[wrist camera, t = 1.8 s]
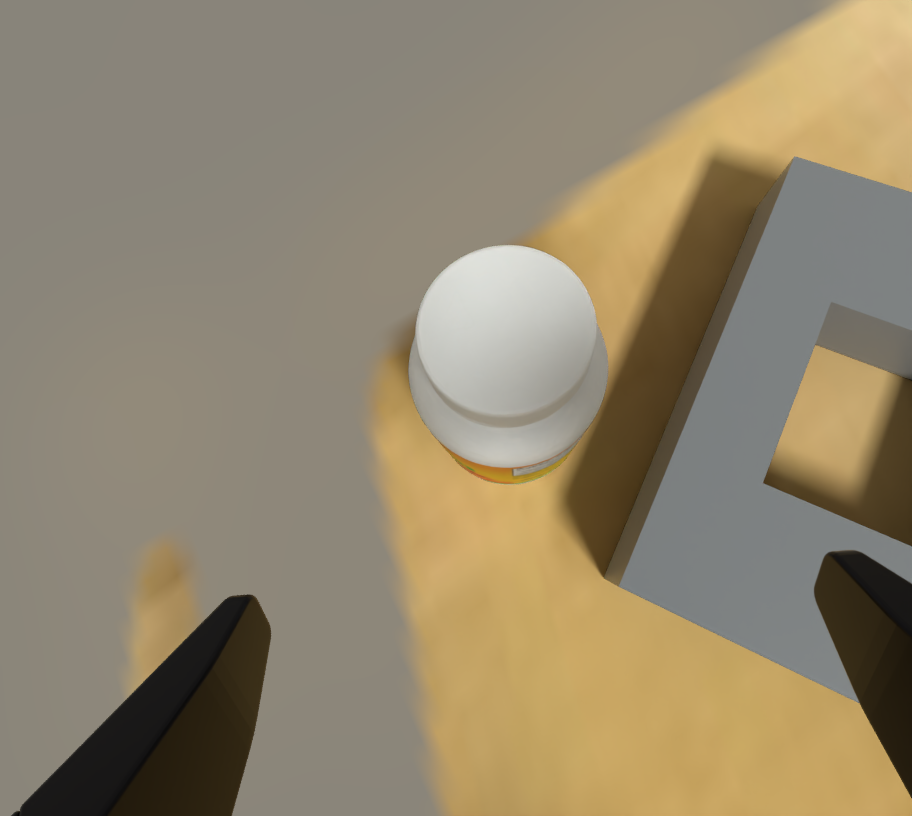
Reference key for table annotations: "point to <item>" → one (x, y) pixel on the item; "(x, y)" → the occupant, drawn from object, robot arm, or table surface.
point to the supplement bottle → (507, 362)
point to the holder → (773, 421)
